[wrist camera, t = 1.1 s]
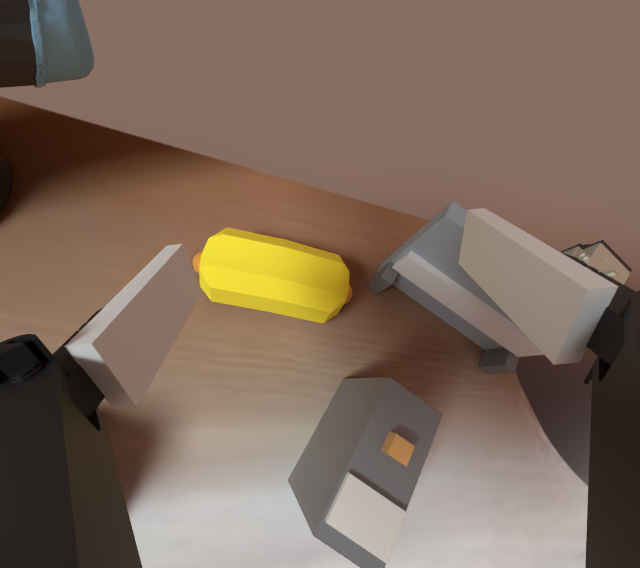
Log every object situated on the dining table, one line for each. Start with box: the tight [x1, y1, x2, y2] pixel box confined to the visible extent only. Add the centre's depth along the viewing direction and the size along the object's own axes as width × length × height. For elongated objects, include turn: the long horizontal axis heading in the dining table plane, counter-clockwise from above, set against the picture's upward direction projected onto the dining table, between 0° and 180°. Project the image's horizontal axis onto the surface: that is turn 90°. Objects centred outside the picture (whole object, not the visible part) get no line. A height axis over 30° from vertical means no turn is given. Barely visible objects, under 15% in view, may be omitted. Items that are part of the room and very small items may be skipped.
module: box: [288, 377, 442, 568], centre depth 25 cm, size 5×11×12 cm, turn 148°
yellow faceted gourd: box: [193, 227, 352, 323], centre depth 31 cm, size 18×7×8 cm
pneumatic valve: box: [561, 240, 632, 285], centre depth 36 cm, size 6×12×12 cm, turn 132°
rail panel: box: [367, 201, 544, 373], centre depth 31 cm, size 19×4×14 cm, turn 58°
